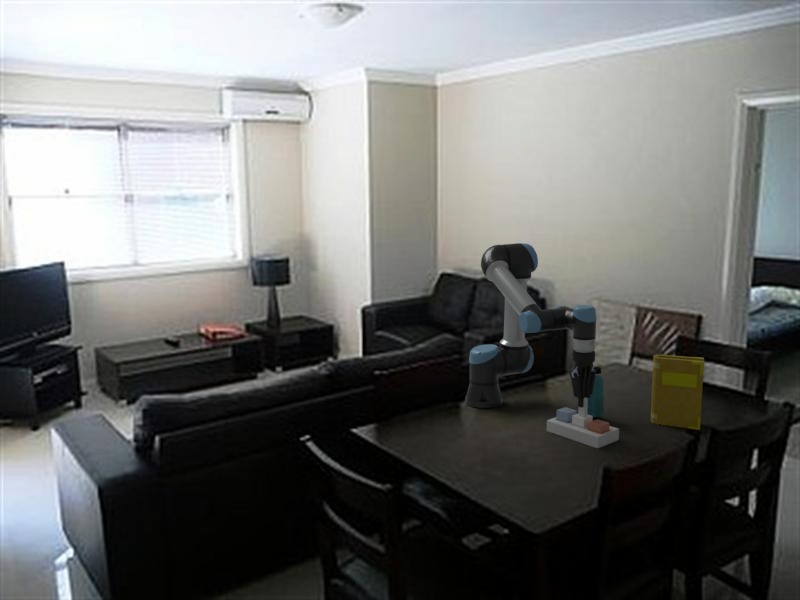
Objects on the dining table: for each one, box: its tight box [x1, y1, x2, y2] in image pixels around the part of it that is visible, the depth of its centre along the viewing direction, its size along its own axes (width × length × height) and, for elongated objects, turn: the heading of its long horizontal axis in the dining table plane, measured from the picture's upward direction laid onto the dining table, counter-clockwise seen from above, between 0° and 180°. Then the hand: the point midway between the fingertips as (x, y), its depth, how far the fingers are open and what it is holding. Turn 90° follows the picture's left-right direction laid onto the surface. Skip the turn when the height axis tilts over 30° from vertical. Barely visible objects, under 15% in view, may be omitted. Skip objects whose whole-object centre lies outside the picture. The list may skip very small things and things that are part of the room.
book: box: [650, 354, 705, 431], centre depth 252 cm, size 17×7×25 cm, turn 65°
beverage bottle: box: [587, 365, 605, 418], centre depth 260 cm, size 6×7×20 cm
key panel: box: [546, 416, 620, 449], centre depth 244 cm, size 22×12×4 cm, turn 38°
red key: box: [588, 419, 611, 434], centre depth 238 cm, size 5×5×5 cm
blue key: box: [555, 406, 578, 423], centre depth 249 cm, size 5×5×5 cm
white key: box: [572, 413, 594, 429], centre depth 244 cm, size 5×5×5 cm
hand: (582, 415), depth 243 cm, fingers closed
